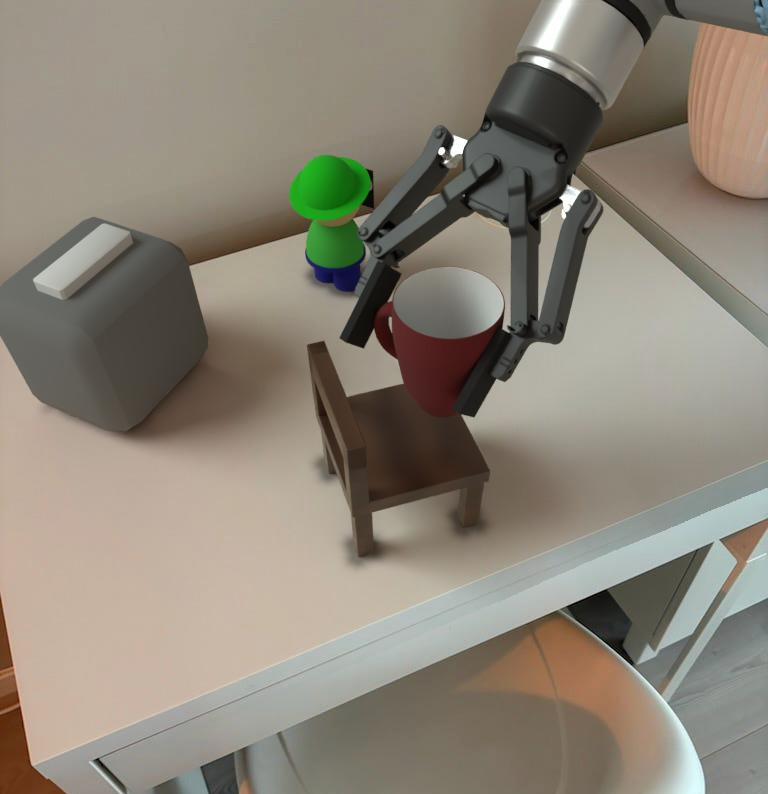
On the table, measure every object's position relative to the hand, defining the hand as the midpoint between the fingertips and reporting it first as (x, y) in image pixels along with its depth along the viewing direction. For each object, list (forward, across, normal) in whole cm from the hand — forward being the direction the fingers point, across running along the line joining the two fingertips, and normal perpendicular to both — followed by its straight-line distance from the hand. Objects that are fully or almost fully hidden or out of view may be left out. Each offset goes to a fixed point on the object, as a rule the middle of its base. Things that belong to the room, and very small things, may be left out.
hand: (405, 377), depth 57 cm
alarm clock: (+16, +32, -7) cm, 37 cm away
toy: (-2, +28, -26) cm, 38 cm away
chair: (+11, +1, -12) cm, 16 cm away
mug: (+1, 0, -5) cm, 5 cm away
